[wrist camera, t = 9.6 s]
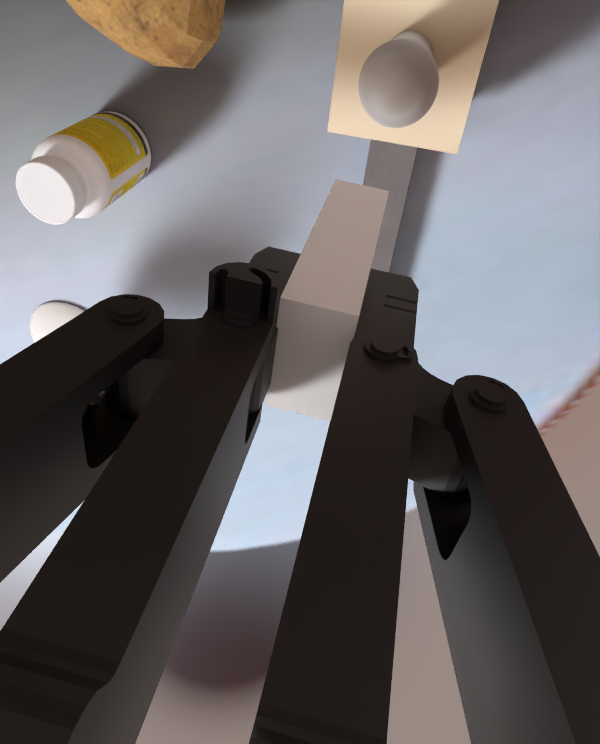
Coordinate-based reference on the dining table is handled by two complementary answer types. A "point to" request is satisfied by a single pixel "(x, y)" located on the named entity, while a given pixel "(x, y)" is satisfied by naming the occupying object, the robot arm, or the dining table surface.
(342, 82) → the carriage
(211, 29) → the potato
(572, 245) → the dining table surface
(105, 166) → the supplement bottle
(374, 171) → the rail track
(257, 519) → the dining table surface
